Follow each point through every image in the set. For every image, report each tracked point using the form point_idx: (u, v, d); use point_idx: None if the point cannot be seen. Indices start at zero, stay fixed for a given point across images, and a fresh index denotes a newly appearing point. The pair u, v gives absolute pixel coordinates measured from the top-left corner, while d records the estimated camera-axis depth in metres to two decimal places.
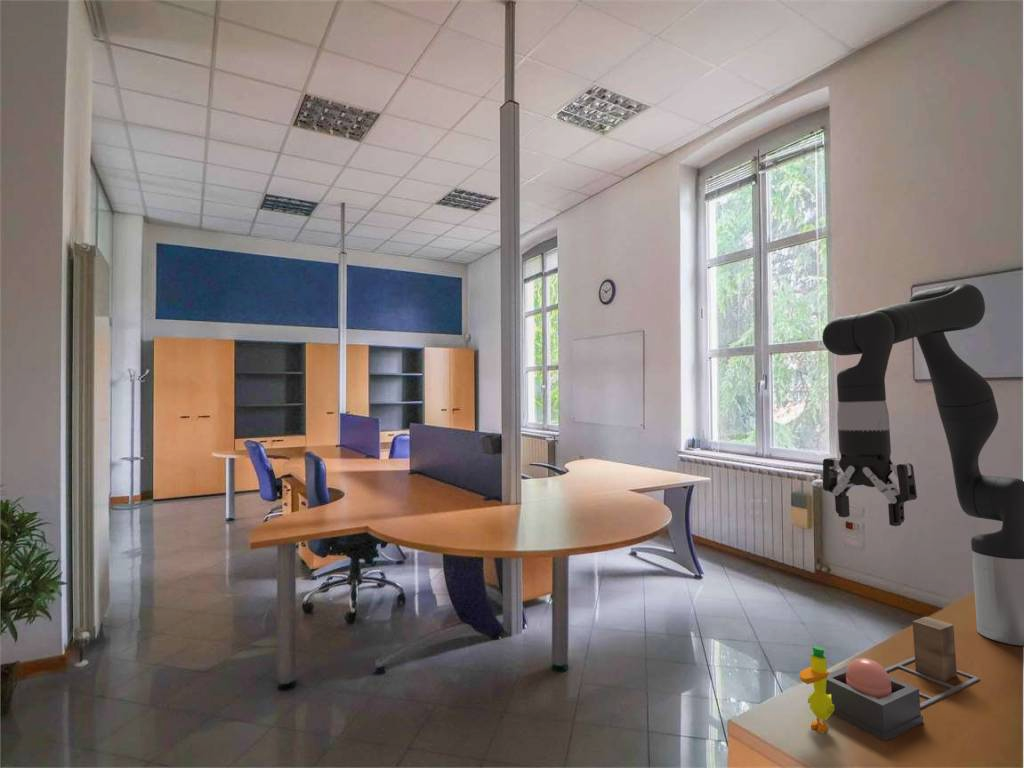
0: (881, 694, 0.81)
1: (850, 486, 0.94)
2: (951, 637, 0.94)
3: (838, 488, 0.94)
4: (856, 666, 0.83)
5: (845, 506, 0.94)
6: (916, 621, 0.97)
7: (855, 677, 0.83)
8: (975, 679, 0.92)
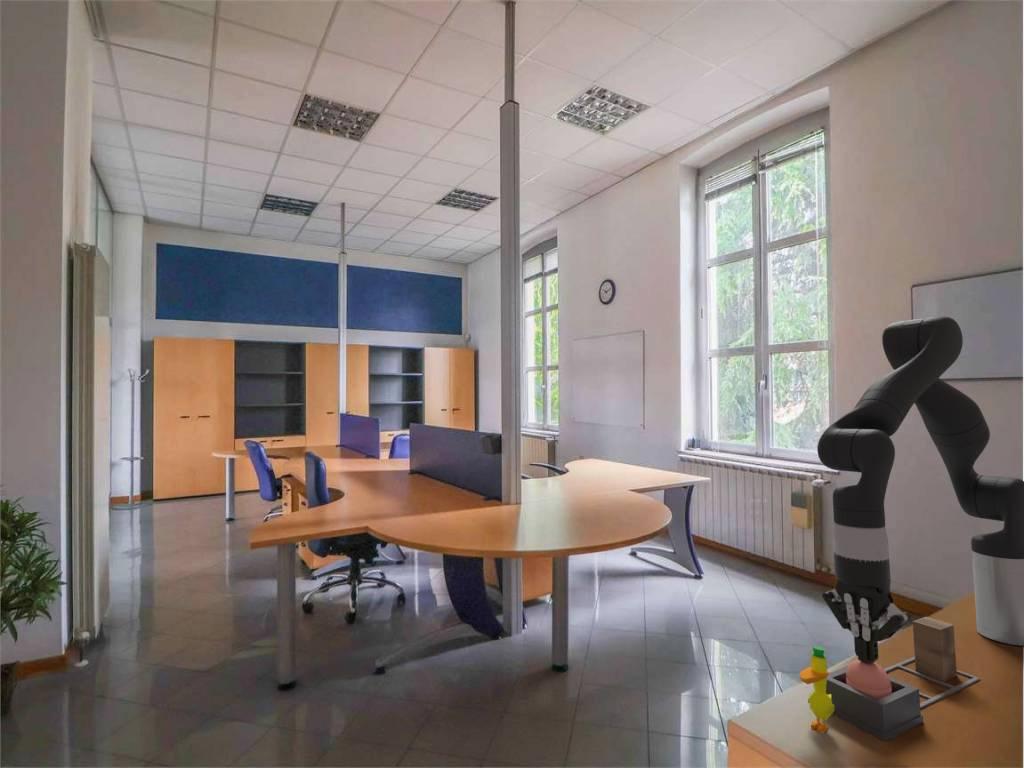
0: (881, 695, 0.81)
1: None
2: (951, 638, 0.94)
3: (854, 627, 0.84)
4: (856, 667, 0.83)
5: None
6: (916, 621, 0.97)
7: (855, 678, 0.83)
8: (975, 679, 0.92)
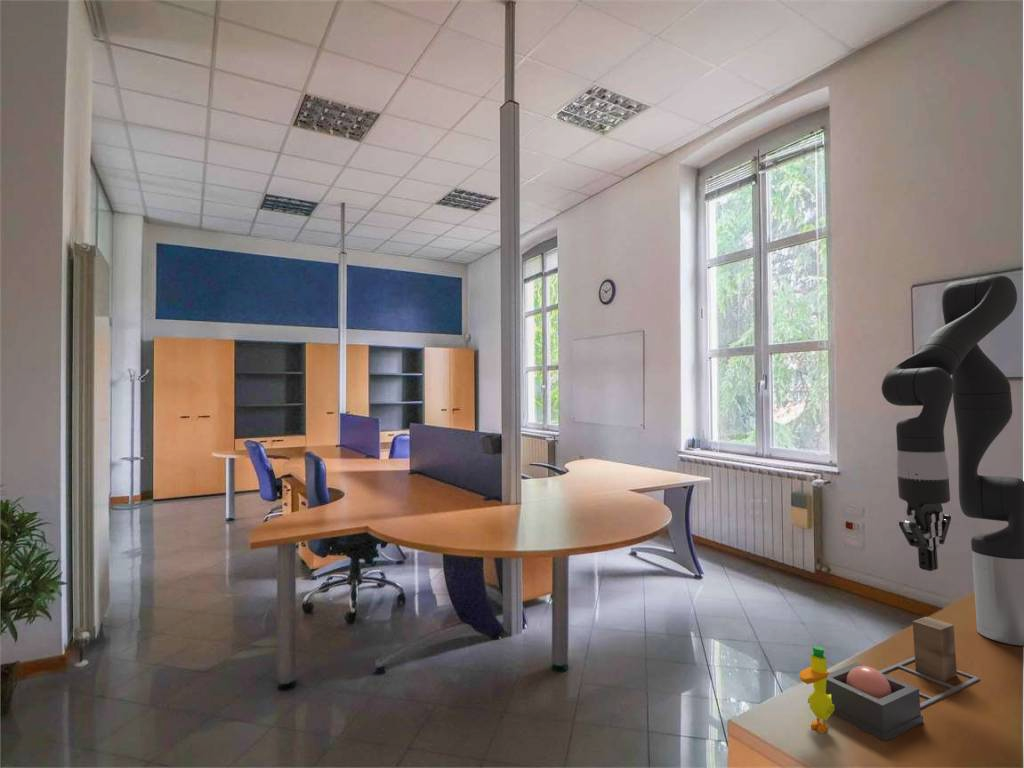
0: None
1: None
2: (951, 638, 0.94)
3: None
4: (856, 674, 0.83)
5: None
6: (916, 621, 0.97)
7: (855, 685, 0.83)
8: (975, 679, 0.92)
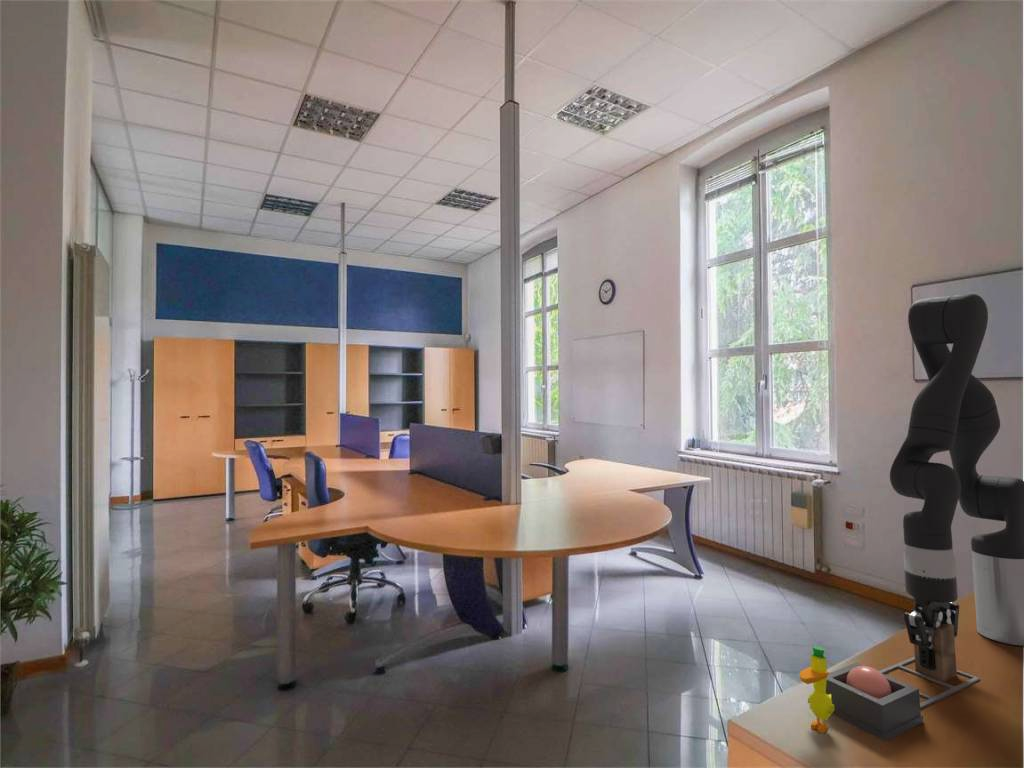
0: None
1: None
2: (951, 638, 0.94)
3: None
4: (856, 674, 0.83)
5: None
6: None
7: (855, 685, 0.83)
8: (975, 679, 0.92)
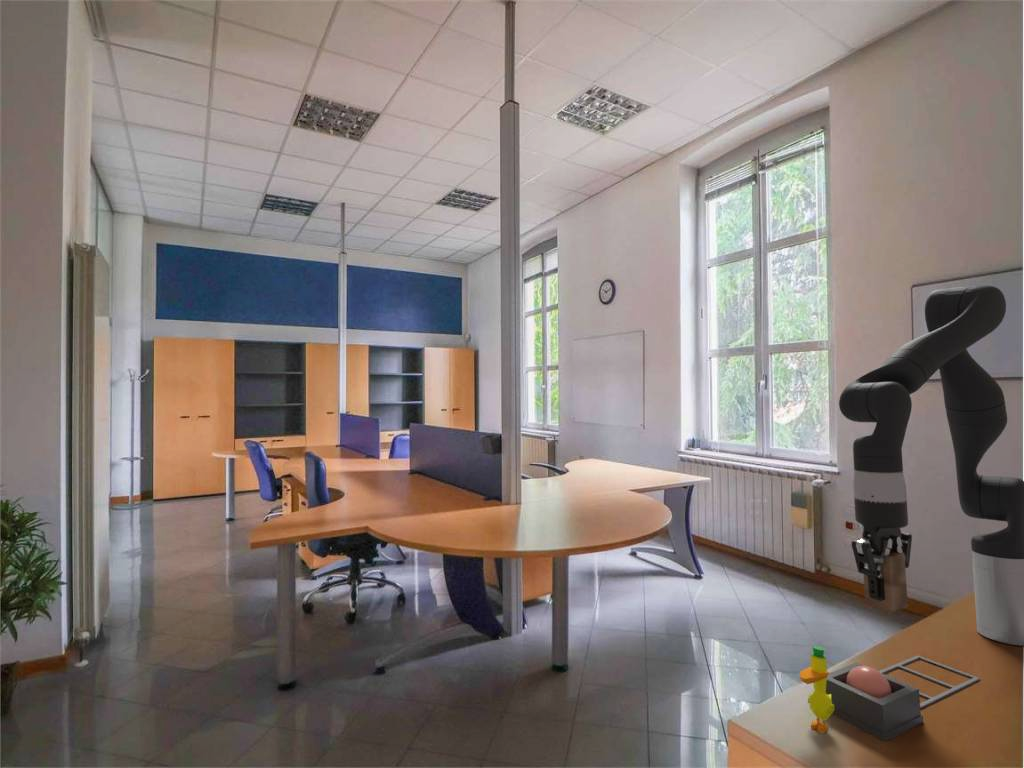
0: None
1: None
2: (902, 567, 0.89)
3: None
4: (856, 674, 0.83)
5: None
6: None
7: (855, 685, 0.83)
8: (975, 679, 0.92)
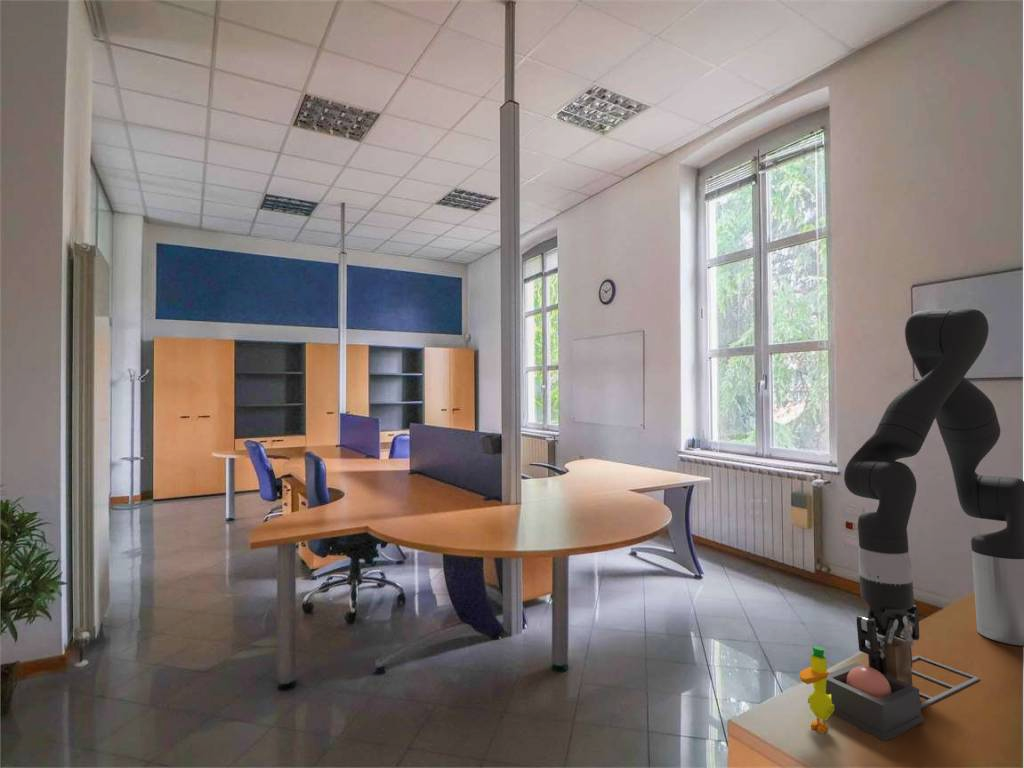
0: None
1: (902, 636, 0.91)
2: (907, 655, 0.88)
3: None
4: (856, 674, 0.83)
5: None
6: None
7: (855, 685, 0.83)
8: (975, 679, 0.92)
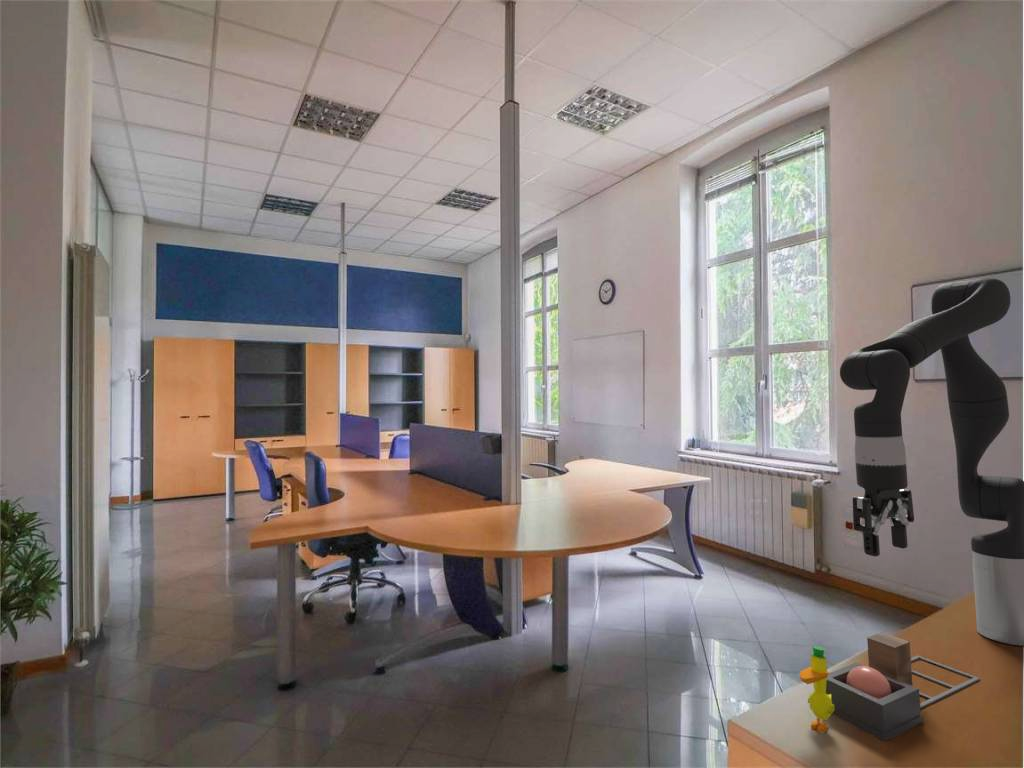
0: None
1: (898, 518, 0.95)
2: (907, 655, 0.88)
3: None
4: (856, 674, 0.83)
5: (899, 537, 0.95)
6: (871, 638, 0.91)
7: (855, 685, 0.83)
8: (975, 679, 0.92)
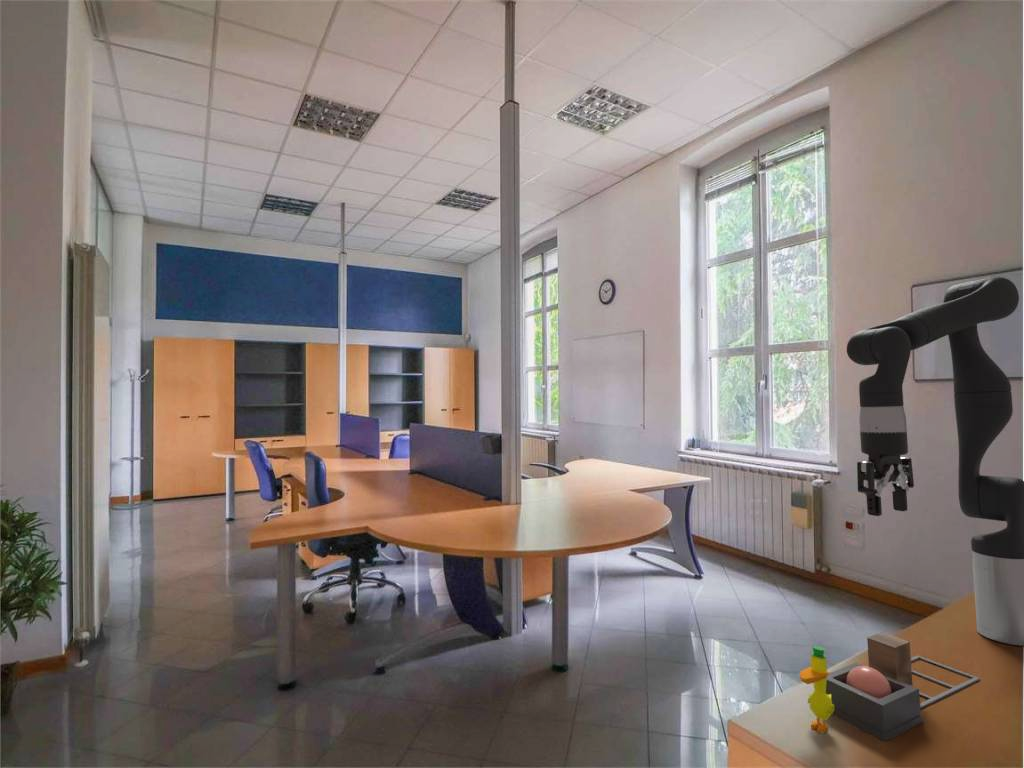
0: None
1: (898, 483, 1.03)
2: (907, 655, 0.88)
3: None
4: (856, 674, 0.83)
5: (899, 501, 1.03)
6: (871, 638, 0.91)
7: (855, 685, 0.83)
8: (975, 679, 0.92)
